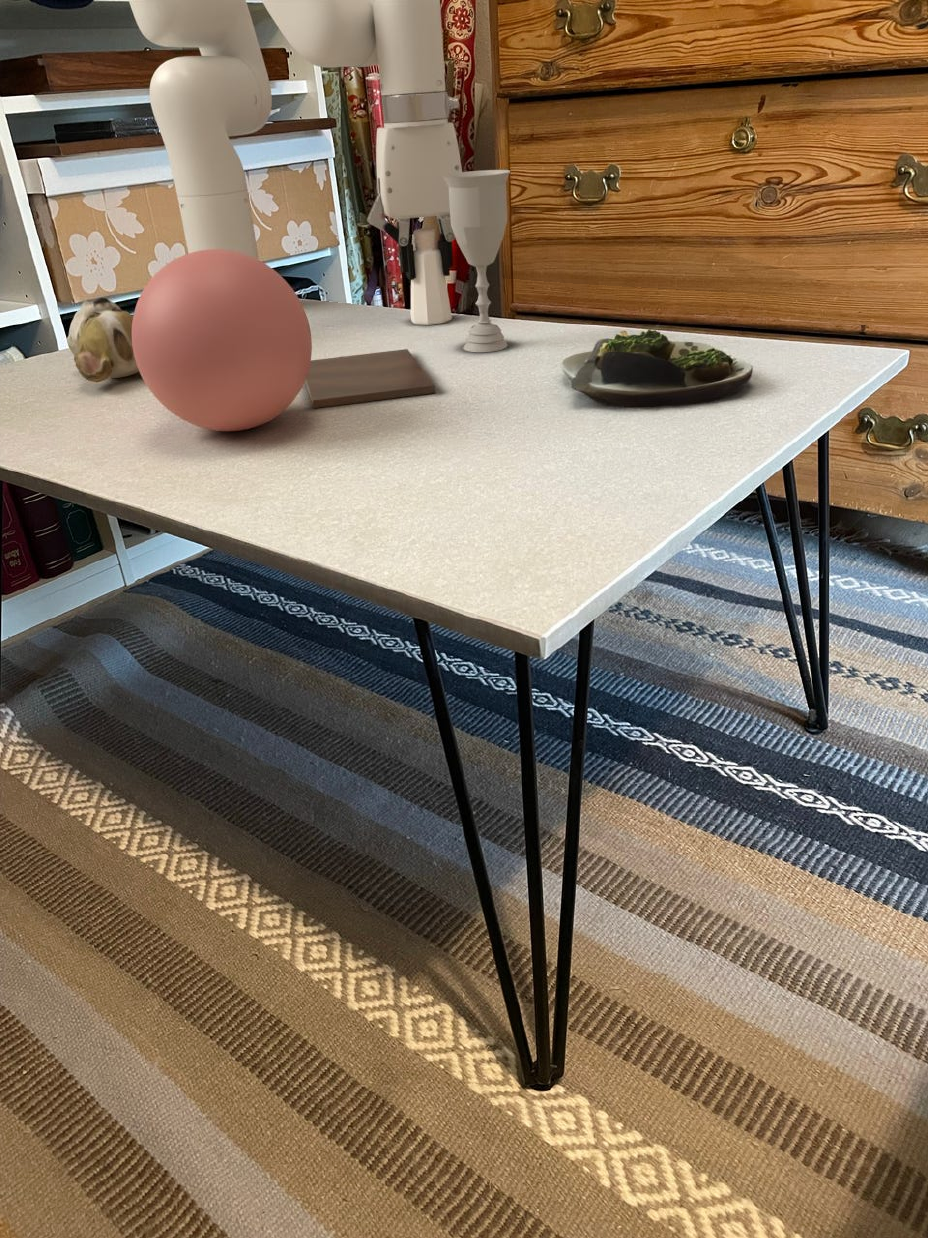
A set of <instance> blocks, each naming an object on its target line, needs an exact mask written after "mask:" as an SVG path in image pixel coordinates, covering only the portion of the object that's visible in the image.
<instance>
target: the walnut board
mask: <svg viewBox="0 0 928 1238" xmlns="http://www.w3.org/2000/svg"><path fill="white" fill-rule="evenodd" d="M305 385H306V387H307V390H308V394H309V398H310V400H311V404H312V408H313V409H319V408H327V407H335V406H342V405H343V406H344V405H350V404H359V403H366V402H374V401H383V400H390V399H396V398H397V399H398V398H399V399H400V398H407V397H414V396H421V395H422V396H423V395H430V394H436V385H435V383H434V382H433V381H432V379H431V378H430V377H429V375H427V373H426V371H425V370H424V369H423V368H422V367H421V365H420V364H419V362H418V361H417V360H416V358H415V357H414V356H413V355H412V353H411V351H410V350H409V349H408V348H404V349H397V350H396V349H395V350H386V351H379V352H370V353H362V354H355V355H354V354H353V355H346V356H345V355H344V356H337V357H329V358H320V359H311V362H310V367H309V371H308V374H307V377H306V380H305Z"/></svg>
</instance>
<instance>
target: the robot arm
mask: <svg viewBox="0 0 928 1238" xmlns="http://www.w3.org/2000/svg"><path fill="white" fill-rule="evenodd" d="M440 1H441V0H261V2H262V4H263V6H264V7H265V9H266V11H267V12H268V14H269V16H270V17H271V18H272V20H273V22H274V23H275V25H276V26H277V28H278V29H279V31H280V32H281V33H282V35H283V37H284V38H285V39H286V41H287V42H288V43H289V45H290V46H291V47H292V49H293V50H294V51H295V52H296V53H297V54H298V55H299V56H300V57H302V59H303V60H304V61H306V62H307V63H309V64H311V65H313V66H316V67H318V68H319V67H320V68H344V67H345V68H346V67H349V68H365V67H373V66H378V75H379V85H380V87H379V88H380V95H381V107H382V119H383V127H378V128H377V129H376V130H377V131H376V142H375V144H376V146H375V152H376V153H375V156H376V157H375V162H376V163H375V165H376V186H377V187H376V188H377V194H376V197H375V199H374V202H373V205H372V207H371V209H370V211H369V213H368V215H367V220H366V221H367V222H368V223H369V225H371V226H373V227H374V228H376V229H378V230H380V231H382V232H383V233H386V235H388V236H389V237H390V238H391V239H392V240H393V241H395V242H396V243H397V244H398V250H399V261H400V271H401V273H405V277H406V278H407V279H408V280H410V281H411V280H414V278H416V275H415V263H414V252H413V251H414V246H413V245H412V244H411V240H410V237H409V236H410V226H411V225H410V224H411V223H410V221H411V219H416V218H418V219H419V218H428V217H436V220H437V224H438V228H439V238H438V240H437V244H436V245H437V249H438V250H440V251H441V256H442V265H443V275H445V277H449V276H450V275H451V272H450V271H451V270H450V268H454V254H453V253H454V252H453V241H454V240H455V239H456V237H455V235H454V232H453V229H452V227H451V218H450V203H449V187H448V185H447V183H446V181H445V179H444V177H443V176H444V175H447V174H453V173H460V172H463V169H462V168H463V167H462V161H461V154H460V149H459V143H458V142H459V141H458V138H457V133H456V129H455V125H454V123H453V122H449V121H448V119H449V117H450V116H449V115H450V114H451V113H453V112H455V111H459V110H460V109H459V108H460V102H459V98H458V97H452V96H450V95H448V91H446V77H445V59H444V44H443V43H444V42H443V26H442V13H441V12H442V11H441V2H440ZM128 3H129V5H130V8H131V11H132V13H133V14H132V15H133V17H134V19H135V22H136V25H137V26H138V29H139V30H140V32H141V34H142V35H143V36H144V37H145V39H146V40H147V41H149V42H150V43H152V44H154V45H157V46H160V47H165V48H167V47H168V48H198V50H199V52H200V55H184V56H177V57H174V58H171V59H168V60H166V61H165V62H163V63H162V64H160V65H159V66H158V67H157V69H156V70H155V71H154V73H153V75H152V77H151V79H150V84H149V103H150V106H151V107H150V108H151V111H152V114H153V117H154V121H155V122H156V125H157V128H158V130H159V133H160V135H161V138H162V141H163V144H164V147H165V150H166V155H167V158H168V161H169V166H170V168H171V173H172V174H171V175H172V179H173V183H174V189H175V193H176V199H177V203H178V207H179V213H180V218H181V219H180V220H181V224H182V228H183V233H184V239H185V245H186V248H187V254H189V253H192V252H196V251H201V250H210V249H222V250H230V251H235V252H239V253H243V254H246V255H248V256H251V257H253V258H256V259H258V260H259V261H260V258H259V251H258V244H257V237H256V233H255V226H254V221H253V215H252V209H251V208H252V207H251V203H250V196H249V195H250V194H249V189H248V184H247V179H246V173H245V169H244V167H243V164H242V161H241V159H240V156H239V154H238V152H237V151H236V148H235V147H234V145H233V143H232V141H231V140H230V137H236V136H244V135H249V134H254V133H256V132H258V131H260V130H261V129H262V128H263V127H264V126H265V125H266V124H267V122H268V120H269V118H270V116H271V112H272V107H273V106H272V104H273V97H272V88H271V83H270V79H269V76H268V71H267V68H266V65H265V61H264V58H263V54H262V51H261V47H260V43H259V40H258V36H257V33H256V29H255V26H254V22H253V18H252V15H251V12H250V10H249V6H248V3H247V0H128ZM383 215H385V216H387V217H388V218H390V219H392V220H393V219H394V220H395V225H394V224H393V223H391V222H390V221H387V220H386V219H385V218H383Z"/></svg>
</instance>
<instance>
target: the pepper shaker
mask: <svg viewBox="0 0 928 1238" xmlns="http://www.w3.org/2000/svg"><path fill="white" fill-rule="evenodd" d="M436 230H437V229H435V228H432V227H423V228H416V229H415V230H413V232H412V235H413V237H414V239H413V240H414V247H415V248H414V249H415V250H413V252H414V263H415V275H416V278H414V280H410V321H411V322H412V324H414V325H417V326H418V325H419V326H433V325H439V324H440V325H441V324H445V323H447V322H450V321H452V320H453V316H452V310H451V304H450V297H449V292H448V286H447V285H448V284H447V280H446V276H445V275H443V265H442V256H441V251H440V250H438V248H436V247H437V244H436V240H437V237H436V233H437V231H436Z"/></svg>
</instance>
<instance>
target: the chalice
mask: <svg viewBox="0 0 928 1238" xmlns="http://www.w3.org/2000/svg"><path fill="white" fill-rule="evenodd" d="M510 174H511V170H509V169H486V170H472V171H471V170H470V171H462V172H460V173H453V174H447V175H444V176H443V177H444V179H445V181H446V183H447V185H448V187H449V203H450V218H451V227H452V229H453V232H454V235H455V240H456V243H457V245H458V247H459V248H460V251H461V253H462V254H463V256H464V258H465V259H466V262H467V264H468V265H470V266H472V267H475V269H476V273H477V278H476V283H475V285H474V287H475V288H476V290H477V294H478V296H477V301H476V302H475V305H476V306H477V308H478V312H479V317H478V321H476V322H477V323H476V324H475V325H472V326H470V329H469V330H468V335H467V337H466V339H465V344H464V345H463V350H464V351H466V352H470V353H492V352H497V351H501V350H504V349H507V348H508V343H507V342H506V341H505V336H504V334H503V333H502V329H501V328H500V327H499V326H498V325H497V324H495V323H492V320H490V317H489V313H488V312H489V307H490V305H491V304H492V302H491V300H490V299H489V297H488V289H489V287H490V283H489V282H488V278H487V268H488V266H490V265H491V264H493V263H494V262H495V260H496V257H497V255H498V252H499V249H500V247H501V244H502V242H503V240H504V236H505V232H506V227H507V224H508V204H507V203H508V201H507V181H508V178H509V176H510Z"/></svg>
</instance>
